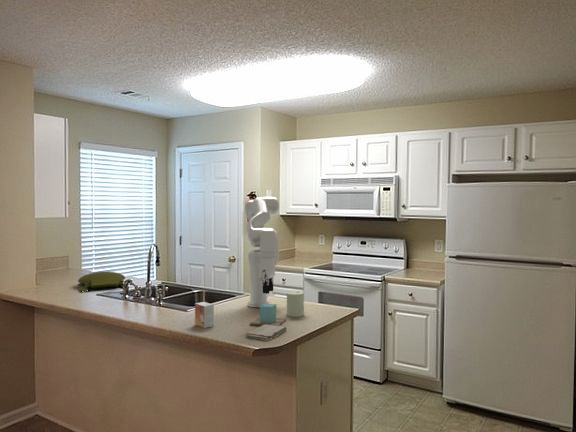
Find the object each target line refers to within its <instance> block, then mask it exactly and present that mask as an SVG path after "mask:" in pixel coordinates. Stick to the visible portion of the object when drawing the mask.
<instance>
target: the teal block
mask: <svg viewBox="0 0 576 432" xmlns="http://www.w3.org/2000/svg"><path fill="white" fill-rule="evenodd" d="M259 317H260V322H263V323H273V322H274V321H276V318H277V304H276V303H270V304H266V303H264V304H263V305H261V306H260V307H259Z"/></svg>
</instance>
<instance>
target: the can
mask: <svg viewBox="0 0 576 432" xmlns="http://www.w3.org/2000/svg"><path fill="white" fill-rule="evenodd" d="M304 293H305V292H304V291H302V290H300V291H299V290H291V291H287V292H286V316H287V317H293V318H294V317H295V318H296V317H297V318H298V317H303V316H305V304H304V303H305V294H304Z"/></svg>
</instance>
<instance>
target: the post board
mask: <svg viewBox="0 0 576 432" xmlns="http://www.w3.org/2000/svg"><path fill="white" fill-rule="evenodd" d="M286 321H287V318H281V317H279V318H278V317H276V321H274V322H273V323H263V322H260V316H258V317H257V318H256V319H254V320H253V321H251V322H250V323H249V326H250V327H251V326H252V327H260V326H262V325H265V324H266V325H273V326H282V325H283V324H285V322H286Z"/></svg>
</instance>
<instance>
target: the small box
mask: <svg viewBox="0 0 576 432" xmlns="http://www.w3.org/2000/svg"><path fill="white" fill-rule="evenodd" d="M214 305H215V304H213V303H209V302H207V301H201V302H196V303H194V325H195V326H197V327H201V328H203V329H206V328H211V327H214V325H215V324H214V323H215V321H214V319H215V314H214V313H215V312H214V311H215V306H214Z"/></svg>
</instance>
